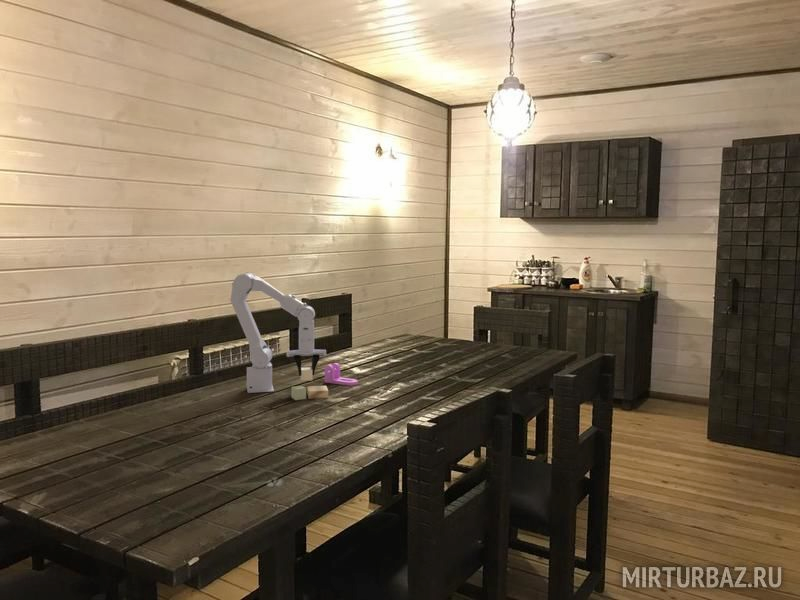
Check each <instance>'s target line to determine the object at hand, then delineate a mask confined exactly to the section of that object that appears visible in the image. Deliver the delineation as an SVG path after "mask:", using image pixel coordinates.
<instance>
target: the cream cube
mask: <svg viewBox="0 0 800 600" xmlns="http://www.w3.org/2000/svg"><path fill="white" fill-rule="evenodd" d="M299 378H300V381H301V382H306V381H307V382H308V381H313V378H314V377H313V375H312V366H311V367H301V376H299Z"/></svg>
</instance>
